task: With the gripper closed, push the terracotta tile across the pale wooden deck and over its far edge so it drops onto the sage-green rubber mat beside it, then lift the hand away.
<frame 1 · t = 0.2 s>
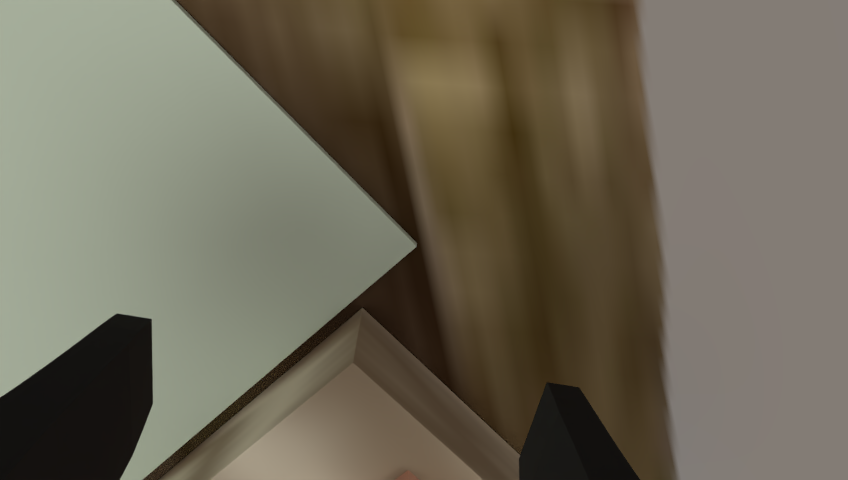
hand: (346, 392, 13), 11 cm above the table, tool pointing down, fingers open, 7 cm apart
mat: (23, 322, 24), on the table
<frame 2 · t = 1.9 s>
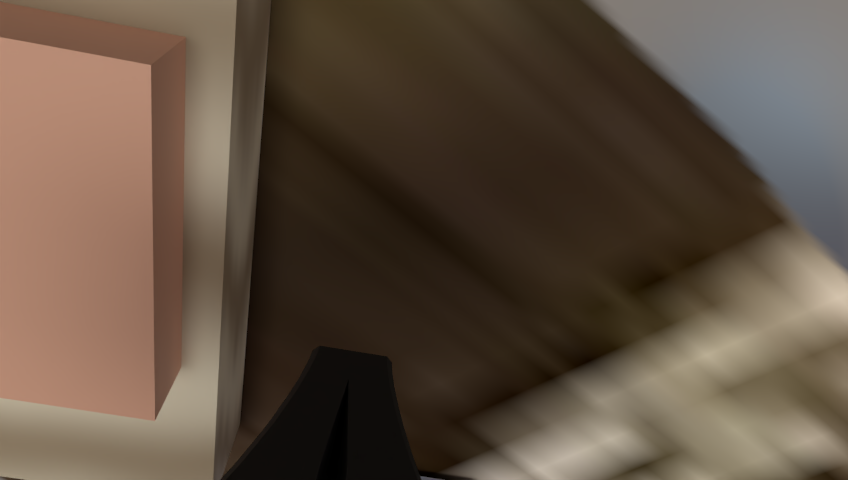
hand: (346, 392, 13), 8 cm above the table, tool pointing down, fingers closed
deck: (65, 198, 20), on the table
tile: (54, 202, 16), point 3 cm above the table, touching deck
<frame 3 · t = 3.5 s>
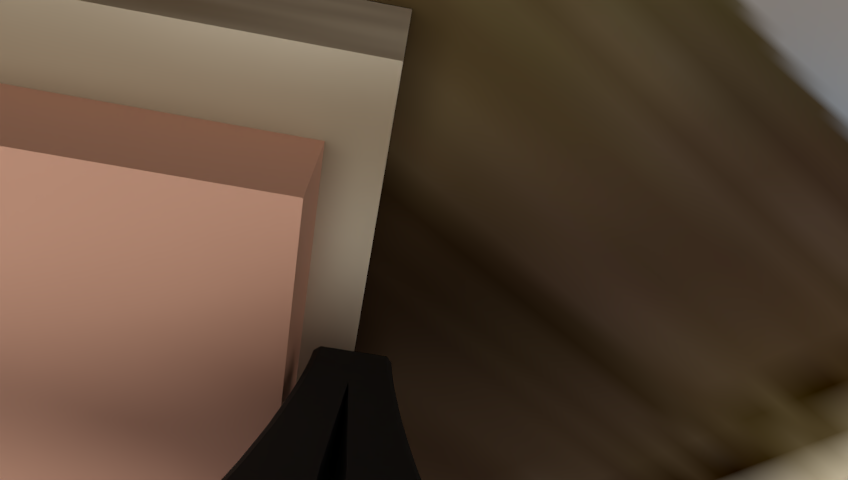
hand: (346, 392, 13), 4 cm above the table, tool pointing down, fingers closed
deck: (134, 296, 17), on the table
tile: (141, 331, 13), point 4 cm above the table, touching deck, gripper
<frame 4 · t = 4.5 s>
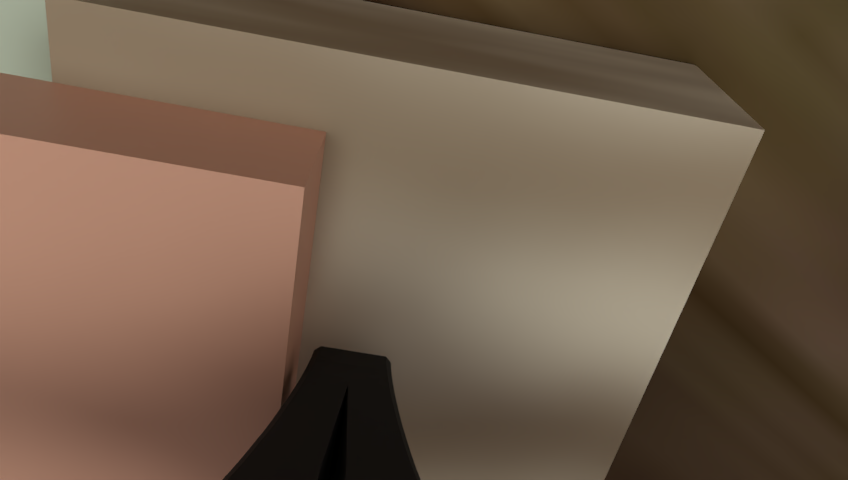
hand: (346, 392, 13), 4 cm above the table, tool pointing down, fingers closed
deck: (366, 334, 18), on the table
tile: (140, 324, 13), point 4 cm above the table, touching deck
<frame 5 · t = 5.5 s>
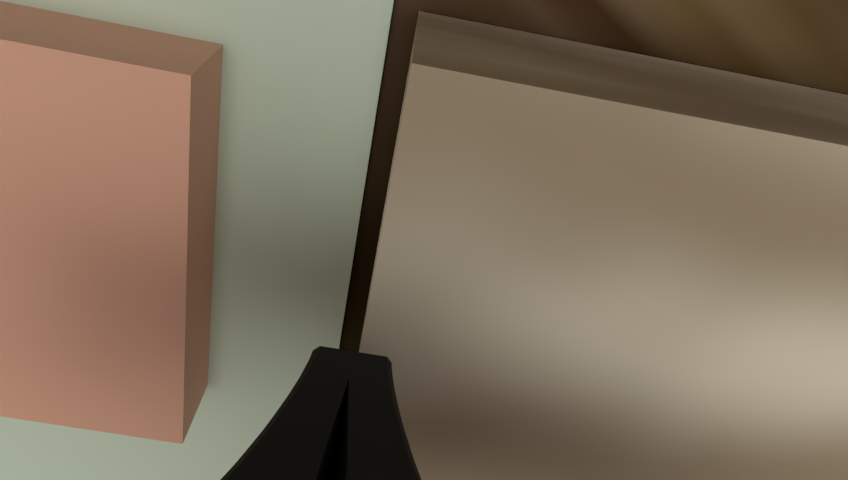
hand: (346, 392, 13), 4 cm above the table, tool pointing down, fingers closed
mat: (59, 316, 18), on the table
deck: (574, 367, 18), on the table
tile: (34, 263, 14), point 2 cm above the table, tilted 180°, touching mat
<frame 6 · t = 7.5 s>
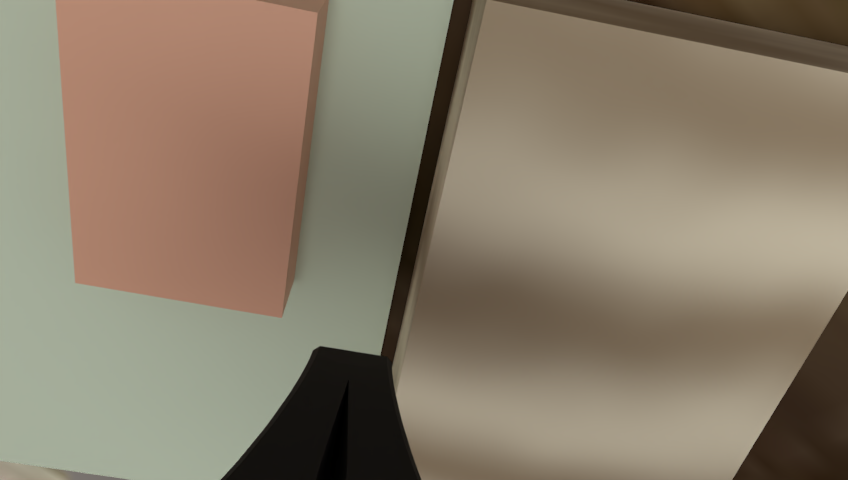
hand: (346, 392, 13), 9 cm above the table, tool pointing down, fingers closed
mat: (178, 221, 22), on the table
deck: (590, 265, 22), on the table
tile: (182, 162, 18), point 2 cm above the table, tilted 180°, touching mat
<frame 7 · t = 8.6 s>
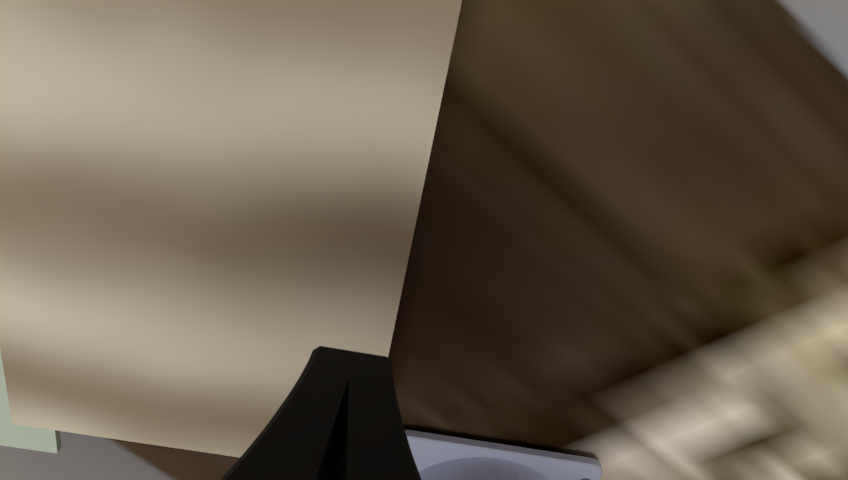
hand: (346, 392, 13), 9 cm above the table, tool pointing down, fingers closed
deck: (231, 176, 21), on the table
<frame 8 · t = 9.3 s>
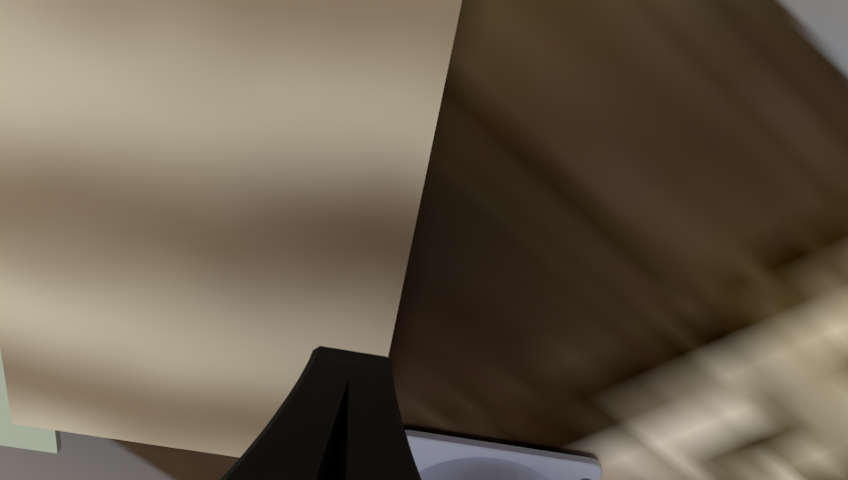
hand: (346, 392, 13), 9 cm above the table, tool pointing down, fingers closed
deck: (231, 176, 21), on the table
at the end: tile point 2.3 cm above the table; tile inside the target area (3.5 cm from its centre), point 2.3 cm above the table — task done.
